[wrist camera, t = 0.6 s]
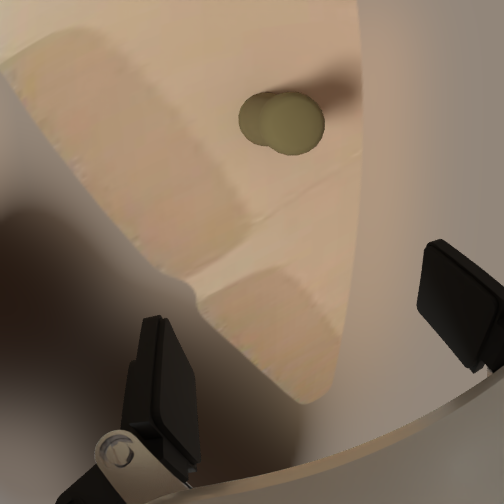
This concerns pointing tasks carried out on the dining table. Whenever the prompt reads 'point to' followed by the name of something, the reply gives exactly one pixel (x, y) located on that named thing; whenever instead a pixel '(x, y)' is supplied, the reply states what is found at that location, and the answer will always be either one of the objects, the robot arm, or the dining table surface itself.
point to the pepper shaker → (282, 122)
